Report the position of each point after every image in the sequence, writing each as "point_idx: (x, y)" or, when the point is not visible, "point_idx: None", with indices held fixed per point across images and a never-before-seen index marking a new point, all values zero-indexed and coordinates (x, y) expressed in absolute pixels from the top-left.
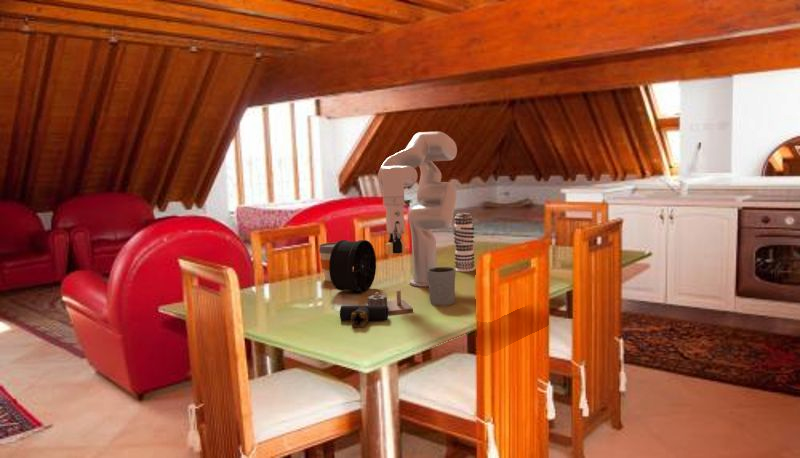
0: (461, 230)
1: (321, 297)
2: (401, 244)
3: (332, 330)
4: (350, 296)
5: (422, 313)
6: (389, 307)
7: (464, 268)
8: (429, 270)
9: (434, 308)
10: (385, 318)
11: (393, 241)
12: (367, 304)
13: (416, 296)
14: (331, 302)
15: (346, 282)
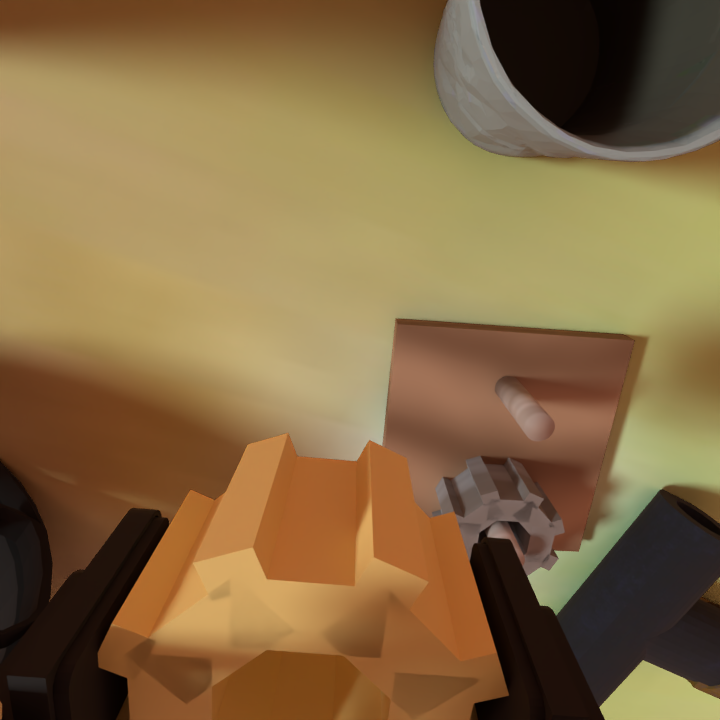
0: None
1: None
2: (557, 661)
3: (671, 706)
4: (88, 543)
5: (684, 295)
6: (528, 451)
7: None
8: (516, 91)
9: (628, 182)
10: (715, 522)
11: (91, 716)
12: None
13: (252, 174)
14: None
15: (3, 615)
